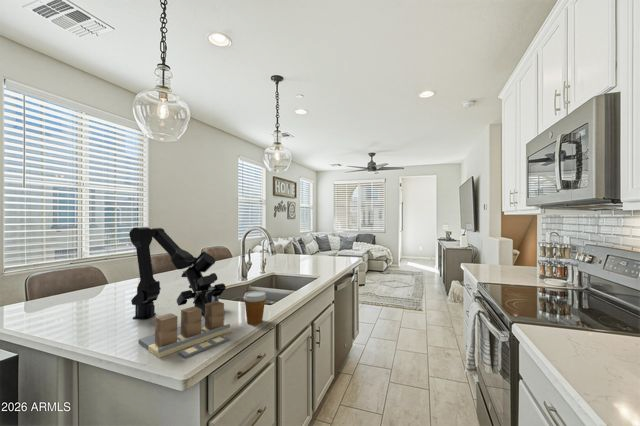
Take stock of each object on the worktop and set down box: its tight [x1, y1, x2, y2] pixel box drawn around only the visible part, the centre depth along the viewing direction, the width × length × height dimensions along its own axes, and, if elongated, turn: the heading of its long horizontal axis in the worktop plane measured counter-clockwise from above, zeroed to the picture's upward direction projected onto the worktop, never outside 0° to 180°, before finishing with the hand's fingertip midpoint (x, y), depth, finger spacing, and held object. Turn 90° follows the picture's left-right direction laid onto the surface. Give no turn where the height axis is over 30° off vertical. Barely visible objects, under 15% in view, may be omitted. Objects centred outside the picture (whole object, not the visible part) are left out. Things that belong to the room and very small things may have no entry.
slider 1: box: [154, 312, 178, 348], centre depth 94 cm, size 5×5×9 cm
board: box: [138, 318, 231, 358], centre depth 104 cm, size 16×26×3 cm, turn 143°
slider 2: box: [204, 301, 225, 330], centre depth 109 cm, size 5×5×9 cm
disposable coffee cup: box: [242, 290, 267, 326], centre depth 119 cm, size 10×10×12 cm
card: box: [178, 335, 230, 359], centre depth 96 cm, size 4×16×1 cm, turn 143°
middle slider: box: [180, 305, 202, 338], centre depth 102 cm, size 5×5×9 cm
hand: (210, 311), depth 110 cm, fingers closed, pressing on slider 2
